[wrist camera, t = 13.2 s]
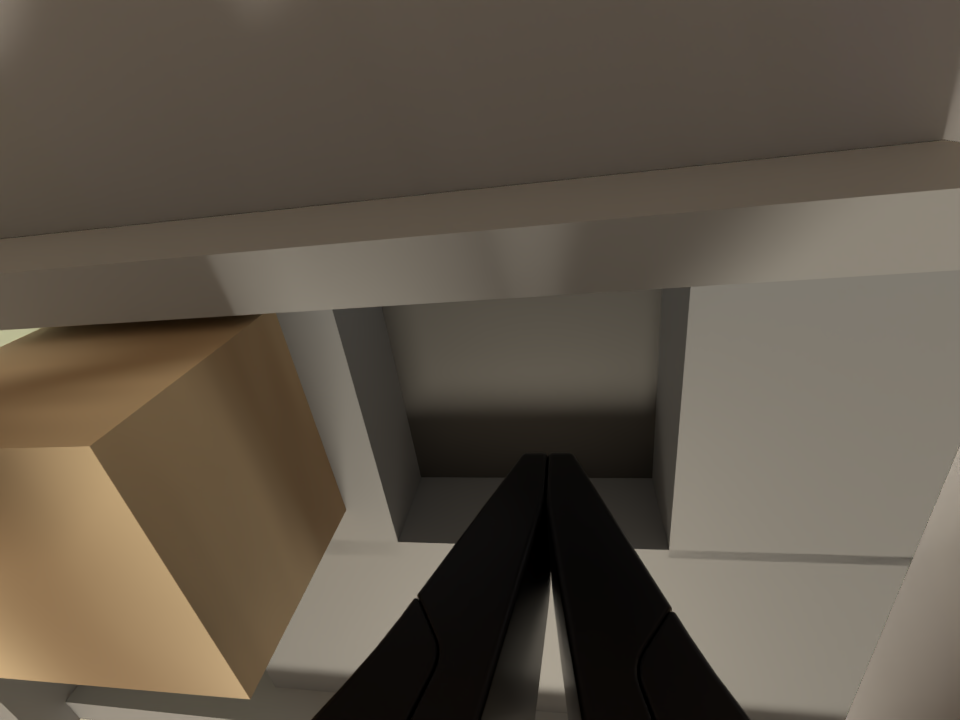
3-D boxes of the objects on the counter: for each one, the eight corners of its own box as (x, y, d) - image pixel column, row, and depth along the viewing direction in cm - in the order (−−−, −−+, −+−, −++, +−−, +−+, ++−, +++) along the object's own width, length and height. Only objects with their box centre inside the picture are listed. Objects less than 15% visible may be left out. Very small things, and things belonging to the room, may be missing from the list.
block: (273, 306, 9) (88, 446, 5) (346, 510, 11) (250, 699, 8) (47, 324, 10) (-231, 454, 6) (157, 509, 12) (-2, 677, 9)
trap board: (944, 139, 8) (1282, 184, 4) (791, 662, 15) (870, 858, 11) (-128, 252, 13) (-432, 325, 9) (133, 619, 20) (27, 750, 16)
